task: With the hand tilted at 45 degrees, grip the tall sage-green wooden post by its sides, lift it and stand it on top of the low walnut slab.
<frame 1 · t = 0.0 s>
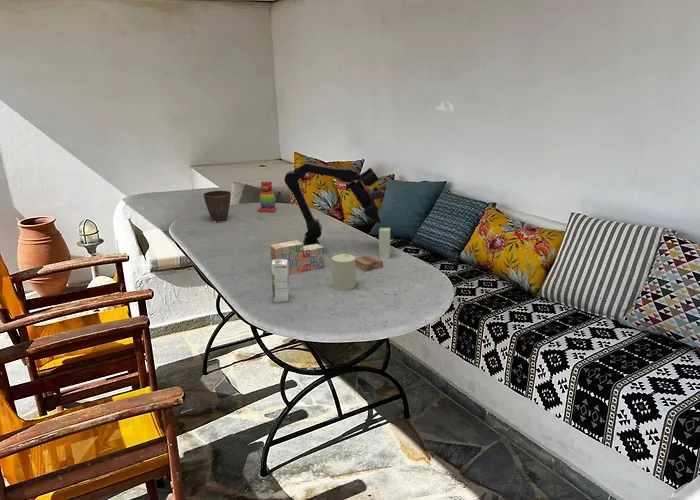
hand: (378, 220, 241), 15 cm above the table, tool tilted 35°, fingers open, 9 cm apart
can: (344, 286, 206), on the table
syrup box: (281, 299, 195), on the table
stack of blocks: (298, 270, 224), on the table
plant pot: (219, 221, 301), on the table
sage post: (384, 256, 238), on the table
stacking bear: (268, 210, 323), on the table
walnut slab: (368, 266, 227), on the table
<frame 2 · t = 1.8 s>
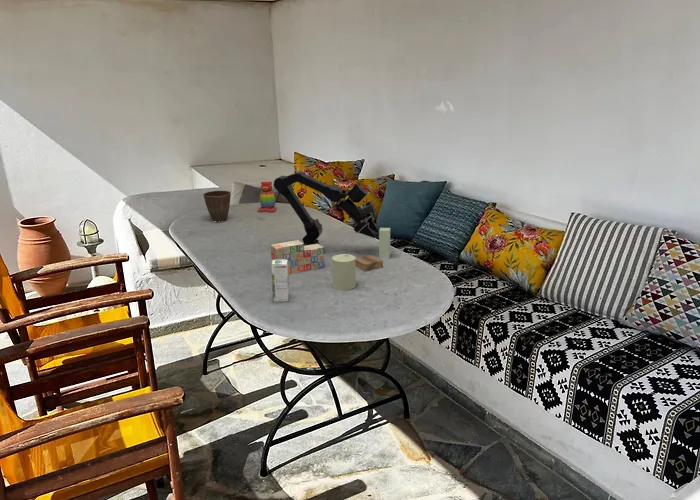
hand: (376, 234, 235), 10 cm above the table, tool tilted 45°, fingers open, 9 cm apart
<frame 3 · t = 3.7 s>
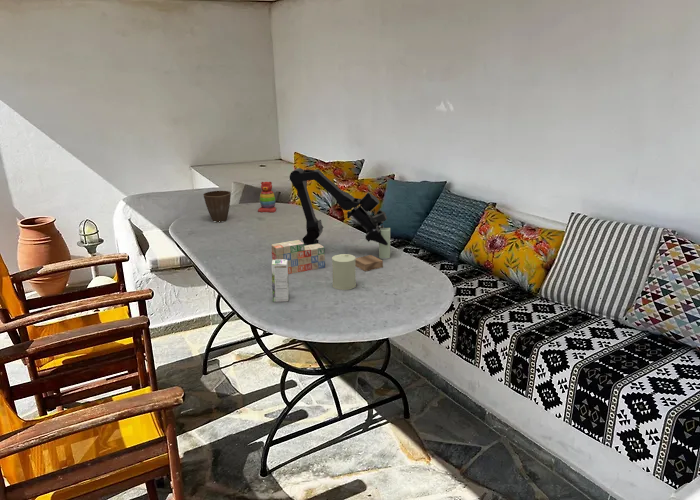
hand: (387, 243, 236), 7 cm above the table, tool tilted 45°, fingers closed on sage post, 4 cm apart
sage post: (384, 256, 238), on the table, touching gripper
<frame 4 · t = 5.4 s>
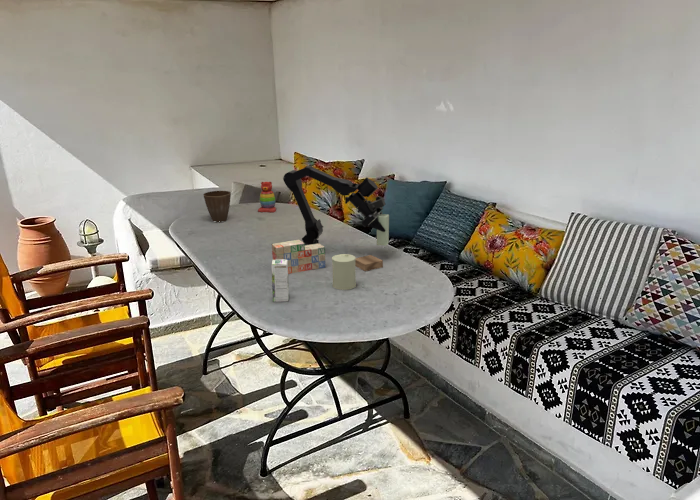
hand: (385, 229, 231), 13 cm above the table, tool tilted 45°, fingers closed on sage post, 4 cm apart
sage post: (382, 244, 234), point 7 cm above the table, touching gripper
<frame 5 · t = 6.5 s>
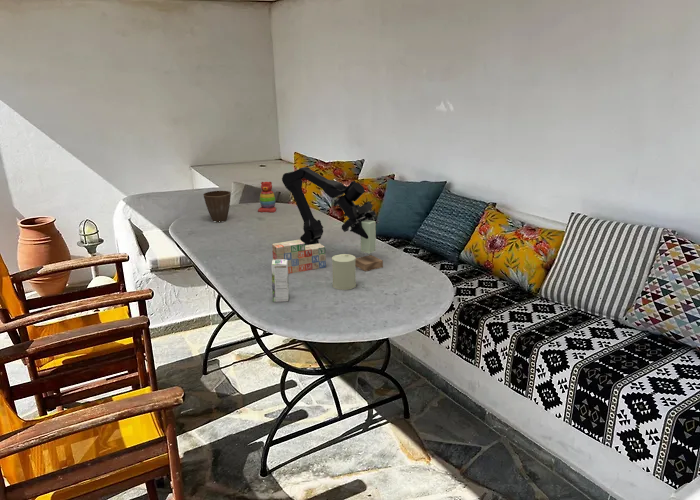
hand: (370, 236, 222), 13 cm above the table, tool tilted 45°, fingers closed on sage post, 4 cm apart
sage post: (368, 251, 225), point 7 cm above the table, touching gripper
when the fingers open (10 cm above the table, at t = 7.4 s): sage post stays where it is, resting on walnut slab.
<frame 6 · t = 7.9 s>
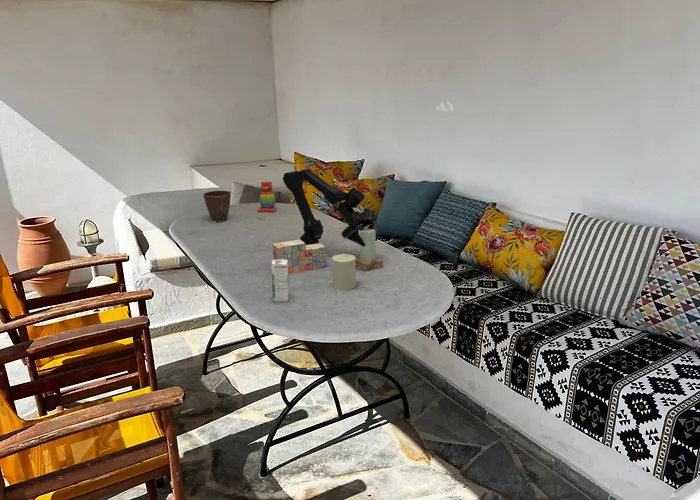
hand: (370, 243, 223), 11 cm above the table, tool tilted 45°, fingers open, 9 cm apart
sage post: (368, 259, 226), point 3 cm above the table, touching walnut slab
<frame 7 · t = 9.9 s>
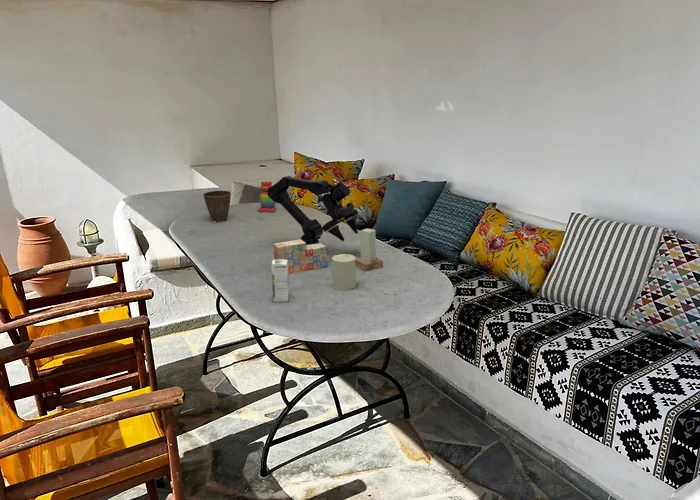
hand: (350, 237, 231), 11 cm above the table, tool tilted 35°, fingers open, 9 cm apart
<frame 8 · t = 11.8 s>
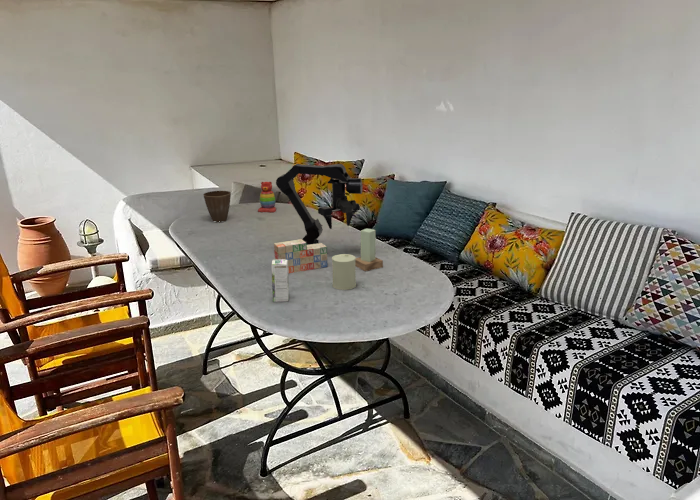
hand: (339, 227, 238), 13 cm above the table, tool pointing down, fingers open, 9 cm apart
at the end: sage post inside the target area on the walnut slab (0.0 cm from its centre), point 3.0 cm above the walnut slab's base; sage post tilted 0°; the gripper is holding nothing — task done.
